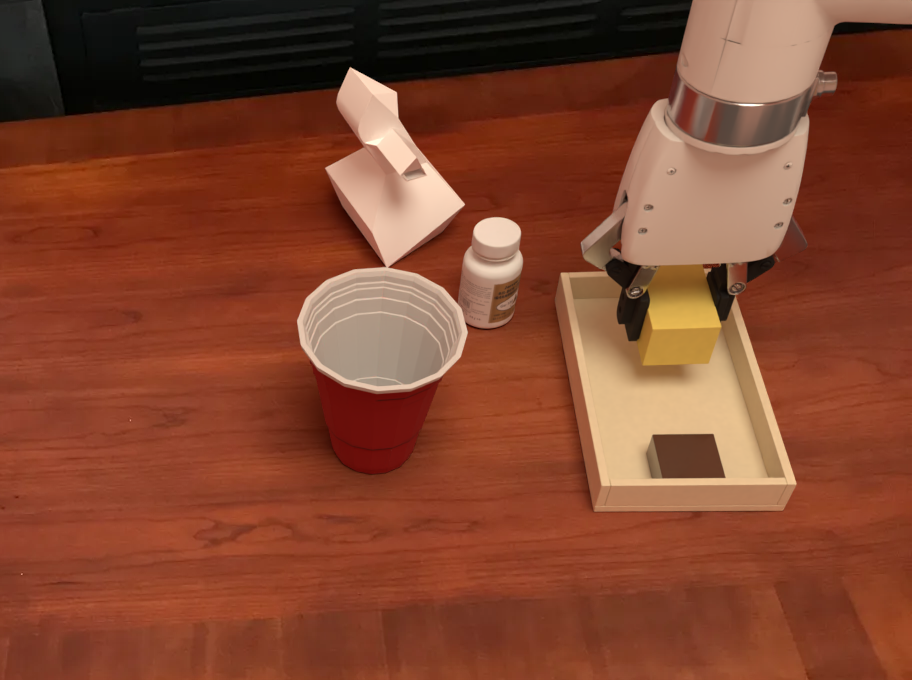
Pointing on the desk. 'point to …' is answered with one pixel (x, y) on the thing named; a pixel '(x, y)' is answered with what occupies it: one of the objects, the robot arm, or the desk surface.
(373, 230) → the white faceted sculpture
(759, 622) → the desk surface
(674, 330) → the yellow rectangular block
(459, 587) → the desk surface
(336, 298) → the plastic cup
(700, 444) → the brown flat square block
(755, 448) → the tray
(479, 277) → the pill bottle
